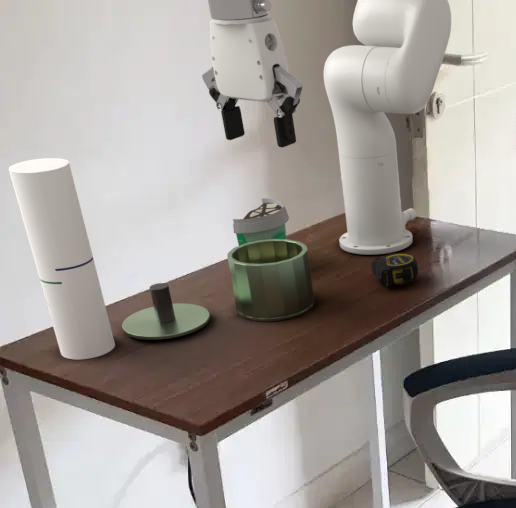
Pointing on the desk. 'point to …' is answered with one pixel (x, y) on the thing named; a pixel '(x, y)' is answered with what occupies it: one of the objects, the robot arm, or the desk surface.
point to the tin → (271, 279)
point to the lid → (165, 317)
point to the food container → (262, 223)
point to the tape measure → (395, 269)
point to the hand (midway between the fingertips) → (261, 141)
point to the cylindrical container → (63, 256)
